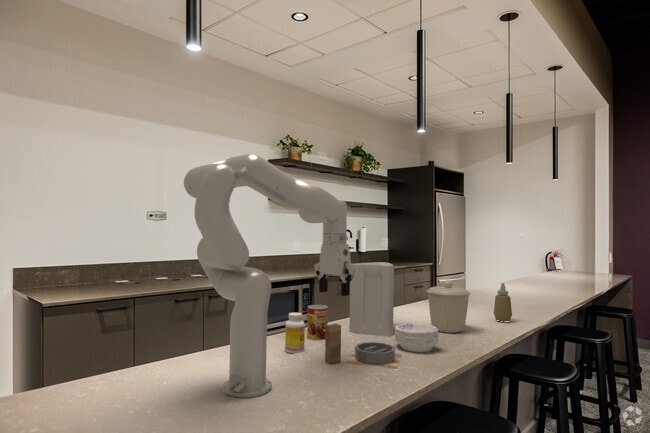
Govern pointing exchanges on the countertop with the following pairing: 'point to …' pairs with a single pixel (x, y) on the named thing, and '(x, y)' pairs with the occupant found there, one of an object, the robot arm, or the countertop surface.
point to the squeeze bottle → (502, 305)
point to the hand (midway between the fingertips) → (334, 293)
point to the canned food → (317, 322)
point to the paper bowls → (416, 337)
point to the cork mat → (391, 365)
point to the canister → (448, 307)
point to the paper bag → (372, 299)
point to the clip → (374, 349)
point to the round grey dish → (373, 356)
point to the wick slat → (333, 344)
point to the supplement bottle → (294, 333)
